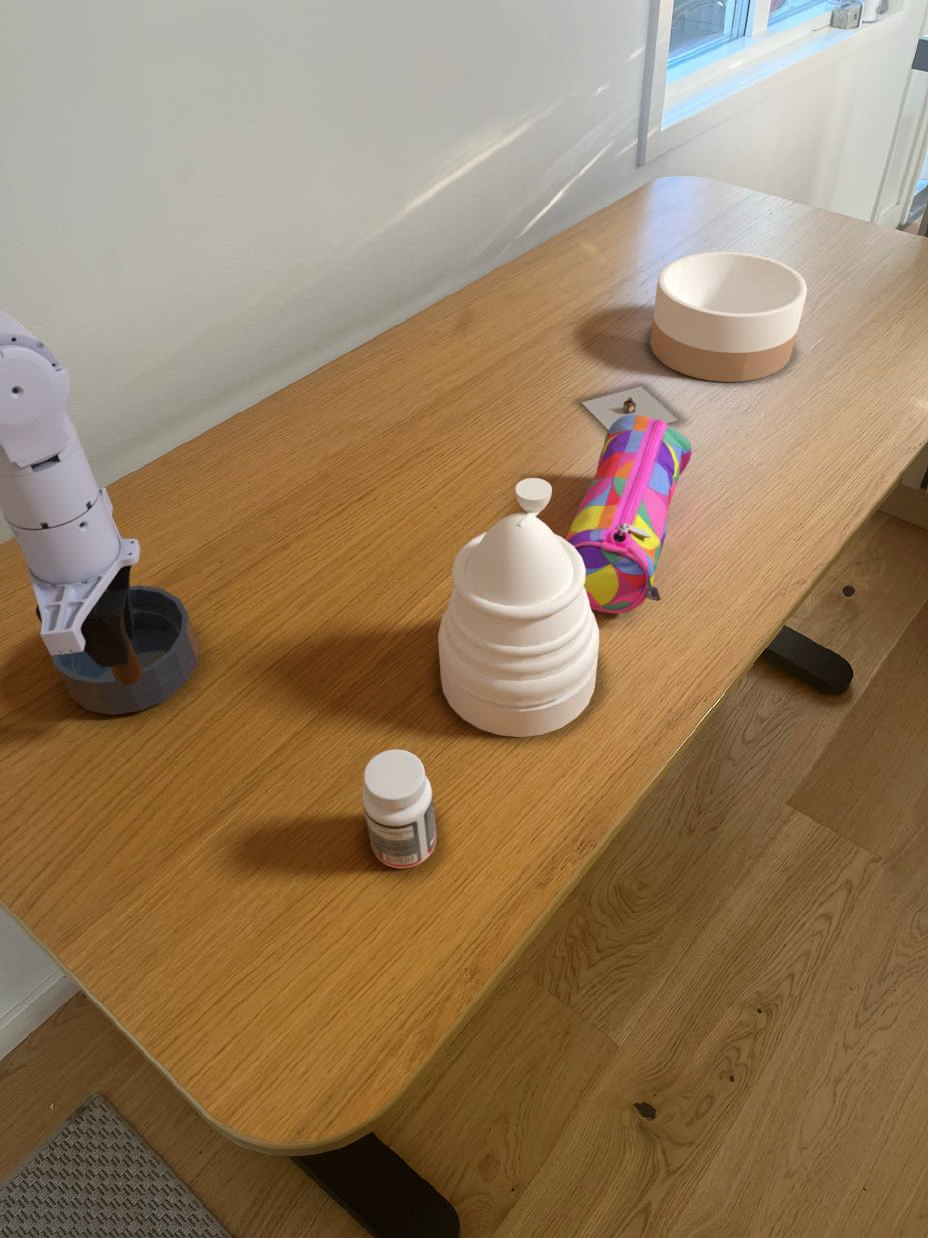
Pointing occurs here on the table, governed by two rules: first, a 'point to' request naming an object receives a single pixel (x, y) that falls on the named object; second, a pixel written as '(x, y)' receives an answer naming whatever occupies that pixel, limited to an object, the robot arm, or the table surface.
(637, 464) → the pencil case
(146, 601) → the mixing bowl
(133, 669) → the stirring stick
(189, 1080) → the table surface
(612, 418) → the grey flat square sheet
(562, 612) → the honey pot
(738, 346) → the bowl
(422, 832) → the pill bottle
